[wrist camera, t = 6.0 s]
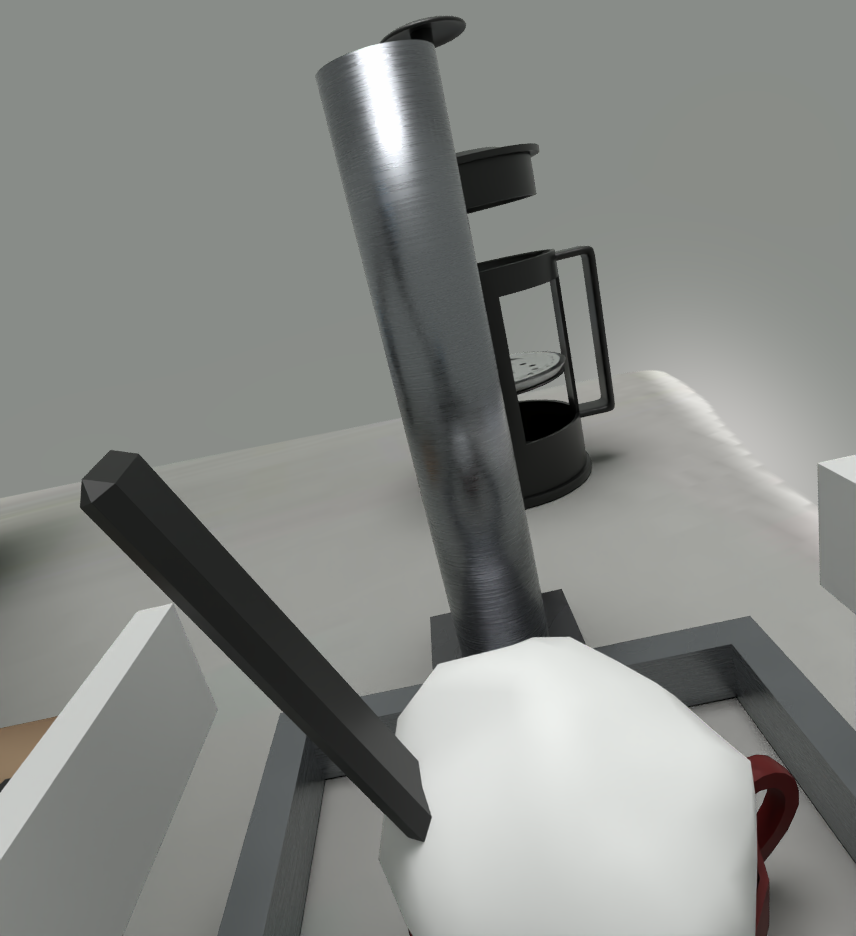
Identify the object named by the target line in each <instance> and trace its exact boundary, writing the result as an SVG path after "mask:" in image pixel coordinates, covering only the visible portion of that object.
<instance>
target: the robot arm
mask: <svg viewBox="0 0 856 936" xmlns="http://www.w3.org/2000/svg"><path fill="white" fill-rule="evenodd" d="M818 510H819V555H820V585H821V586H822V587H823V588H825V589H826V590H827V591H828V592H829V593H831V594H832V595H833V596H834V597H836V598H837V599H838V600H839V601H840V602H842V603H843V604H844V605H845V606H846V607H848V608H849V609H850V610H851V611H852V612H854V613H855V614H856V455H853V456H848V457H843V458H838V459H834V460H829V461H824V462H820V463H818ZM217 710H218V709H217V706H216V704H215V702H214V699H213V697H212V695H211V692H210V690H209V687H208V685H207V683H206V680H205V678H204V676H203V673H202V671H201V669H200V666H199V664H198V662H197V659H196V657H195V654H194V652H193V650H192V647H191V645H190V643H189V640H188V638H187V636H186V633H185V631H184V628H183V626H182V624H181V621H180V619H179V617H178V614H177V612H176V610H175V607H174V605H173V603H172V604H168V605H163V606H159V607H154V608H149V609H145V610H140V611H137V612H136V614H135V615H134V616H133V618H132V619H131V620H130V622H129V623H128V624H127V626H126V627H125V628H124V630H123V631H122V632H121V634H120V635H119V636H118V638H117V639H116V640H115V642H114V643H113V644H112V645H111V647H110V648H109V649H108V651H107V652H106V653H105V655H104V656H103V657H102V659H101V660H100V661H99V663H98V664H97V665H96V667H95V668H94V669H93V671H92V672H91V673H90V675H89V676H88V677H87V679H86V680H85V681H84V683H83V684H82V685H81V687H80V688H79V689H78V690H77V692H76V693H75V694H74V696H73V697H72V698H71V700H70V701H69V702H68V704H67V705H66V706H65V708H64V709H63V710H62V712H61V713H60V714H59V716H58V717H57V718H56V720H55V721H54V722H53V724H52V725H51V726H50V728H49V729H48V730H47V732H46V733H45V734H44V735H43V737H42V738H41V739H40V741H39V742H38V743H37V745H36V746H35V747H34V749H33V750H32V751H31V753H30V754H29V755H28V757H27V758H26V759H25V761H24V762H23V763H22V765H21V766H20V767H19V769H18V770H17V771H16V773H15V774H14V775H13V777H12V778H9V779H5V780H4V781H3V782H2V783H0V936H123V934H124V931H125V929H126V926H127V924H128V922H129V919H130V917H131V915H132V912H133V910H134V907H135V905H136V903H137V900H138V898H139V896H140V893H141V891H142V888H143V886H144V884H145V881H146V879H147V877H148V874H149V872H150V869H151V867H152V865H153V862H154V860H155V858H156V855H157V853H158V850H159V848H160V846H161V843H162V841H163V839H164V836H165V834H166V831H167V829H168V827H169V824H170V822H171V820H172V817H173V815H174V812H175V810H176V808H177V805H178V803H179V801H180V798H181V796H182V793H183V791H184V789H185V786H186V784H187V782H188V779H189V777H190V775H191V772H192V770H193V767H194V765H195V763H196V760H197V758H198V756H199V753H200V751H201V748H202V746H203V744H204V741H205V739H206V737H207V734H208V732H209V729H210V727H211V725H212V722H213V720H214V718H215V715H216V713H217Z"/></svg>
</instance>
